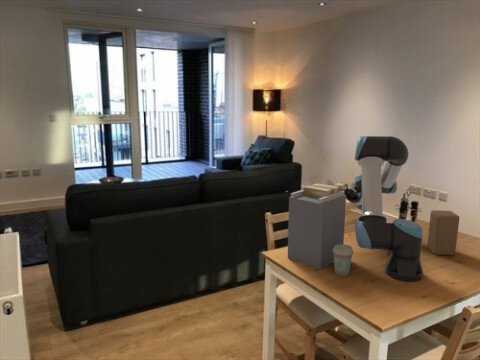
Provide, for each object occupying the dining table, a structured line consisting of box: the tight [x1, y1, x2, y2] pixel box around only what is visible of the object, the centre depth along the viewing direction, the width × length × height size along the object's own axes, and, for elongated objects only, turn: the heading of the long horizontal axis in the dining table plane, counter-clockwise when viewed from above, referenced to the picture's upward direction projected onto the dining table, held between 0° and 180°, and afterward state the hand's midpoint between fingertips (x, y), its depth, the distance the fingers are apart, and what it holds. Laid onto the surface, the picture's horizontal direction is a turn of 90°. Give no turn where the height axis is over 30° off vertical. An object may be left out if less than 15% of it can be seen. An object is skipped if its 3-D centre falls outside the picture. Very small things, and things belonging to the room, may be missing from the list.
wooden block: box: [426, 209, 460, 256], centre depth 186 cm, size 10×10×20 cm
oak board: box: [302, 181, 349, 199], centre depth 183 cm, size 28×12×4 cm, turn 136°
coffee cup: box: [333, 243, 354, 277], centre depth 164 cm, size 8×8×12 cm
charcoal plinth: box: [287, 189, 347, 270], centre depth 179 cm, size 20×18×32 cm
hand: (338, 182), depth 189 cm, fingers open, 13 cm apart
